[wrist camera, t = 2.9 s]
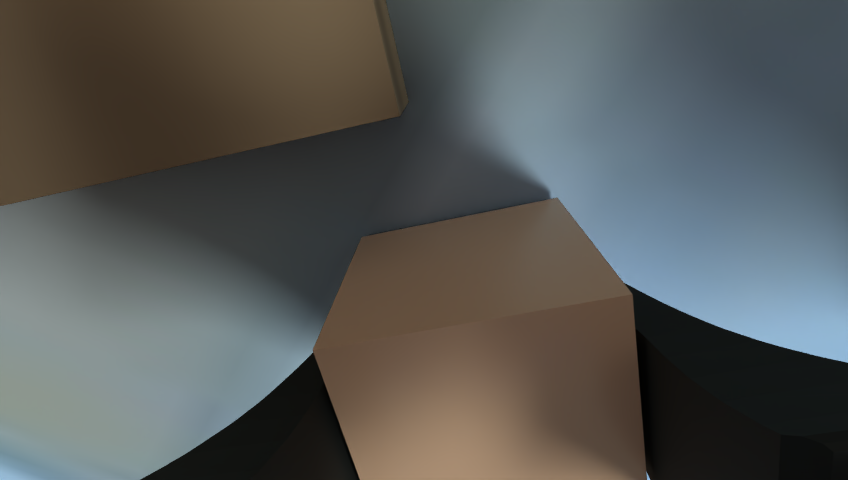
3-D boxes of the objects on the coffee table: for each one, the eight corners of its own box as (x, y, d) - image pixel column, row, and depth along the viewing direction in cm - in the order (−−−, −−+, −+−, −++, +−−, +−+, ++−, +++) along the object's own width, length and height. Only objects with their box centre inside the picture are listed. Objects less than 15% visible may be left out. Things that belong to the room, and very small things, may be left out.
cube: (557, 197, 12) (632, 294, 7) (578, 364, 14) (651, 529, 9) (361, 237, 12) (312, 349, 8) (406, 392, 14) (389, 560, 9)
